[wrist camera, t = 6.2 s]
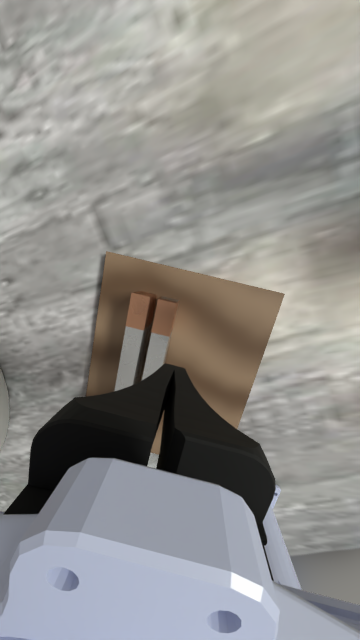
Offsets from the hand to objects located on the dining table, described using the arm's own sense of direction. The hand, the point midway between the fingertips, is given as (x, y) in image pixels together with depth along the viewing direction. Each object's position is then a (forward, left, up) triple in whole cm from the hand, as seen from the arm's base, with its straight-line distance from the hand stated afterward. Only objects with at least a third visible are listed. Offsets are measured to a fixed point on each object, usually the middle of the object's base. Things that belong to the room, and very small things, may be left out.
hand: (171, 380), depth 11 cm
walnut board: (-4, 0, -9) cm, 10 cm away
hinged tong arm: (-5, +2, -8) cm, 10 cm away
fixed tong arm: (-5, +3, -8) cm, 10 cm away
